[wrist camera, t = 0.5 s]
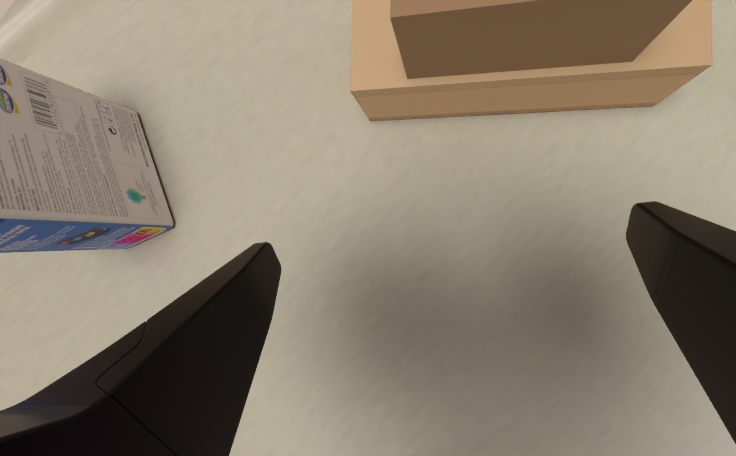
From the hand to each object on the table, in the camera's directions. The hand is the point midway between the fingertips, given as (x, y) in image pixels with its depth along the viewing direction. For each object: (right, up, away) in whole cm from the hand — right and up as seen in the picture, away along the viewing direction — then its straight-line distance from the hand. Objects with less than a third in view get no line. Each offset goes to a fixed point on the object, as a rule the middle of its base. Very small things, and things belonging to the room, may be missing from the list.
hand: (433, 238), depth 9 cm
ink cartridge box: (-20, +4, +19) cm, 28 cm away
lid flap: (+5, +11, +9) cm, 15 cm away
